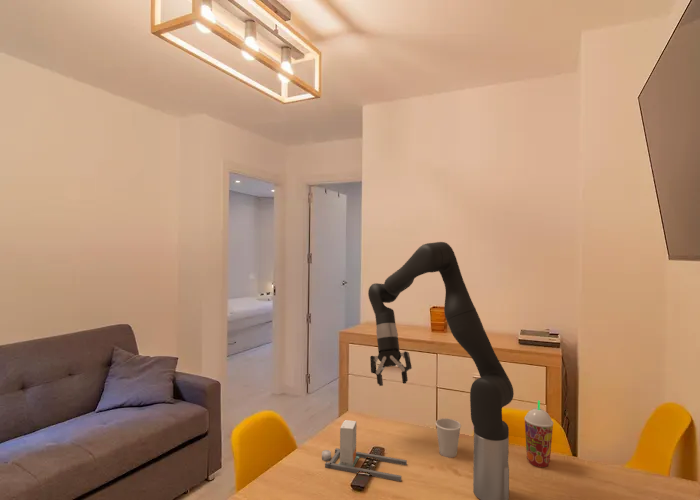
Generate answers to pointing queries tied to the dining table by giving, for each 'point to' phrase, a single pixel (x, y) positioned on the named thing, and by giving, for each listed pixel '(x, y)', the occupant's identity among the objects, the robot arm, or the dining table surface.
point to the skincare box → (348, 443)
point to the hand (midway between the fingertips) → (392, 384)
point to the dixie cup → (448, 436)
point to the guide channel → (327, 456)
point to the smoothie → (538, 436)
